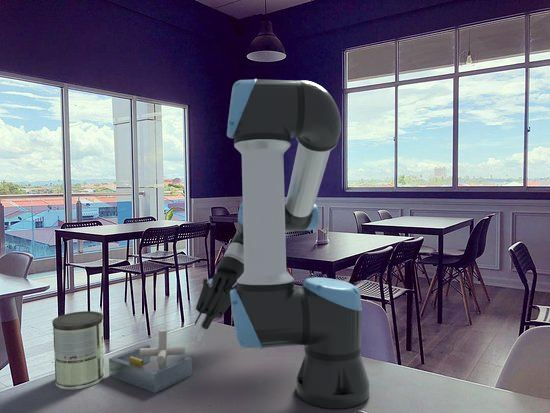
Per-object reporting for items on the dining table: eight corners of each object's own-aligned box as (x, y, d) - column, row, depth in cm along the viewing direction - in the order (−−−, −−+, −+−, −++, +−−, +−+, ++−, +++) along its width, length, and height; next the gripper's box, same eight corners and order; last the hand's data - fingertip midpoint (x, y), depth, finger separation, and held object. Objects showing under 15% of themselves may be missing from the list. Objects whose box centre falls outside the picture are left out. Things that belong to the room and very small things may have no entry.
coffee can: (48, 379, 101) (46, 317, 100) (94, 366, 108) (92, 308, 107) (63, 395, 94) (61, 328, 93) (112, 380, 101) (110, 317, 100)
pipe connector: (184, 381, 100) (184, 336, 99) (137, 383, 98) (137, 338, 98) (185, 363, 110) (185, 323, 109) (142, 366, 108) (142, 324, 108)
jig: (191, 374, 103) (191, 352, 103) (155, 393, 94) (154, 368, 94) (147, 360, 112) (146, 339, 111) (109, 375, 103) (108, 353, 102)
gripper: (259, 273, 126) (221, 350, 113) (223, 268, 133) (183, 340, 120) (247, 257, 121) (206, 336, 109) (210, 252, 128) (168, 326, 116)
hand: (194, 338), depth 115 cm, fingers closed
